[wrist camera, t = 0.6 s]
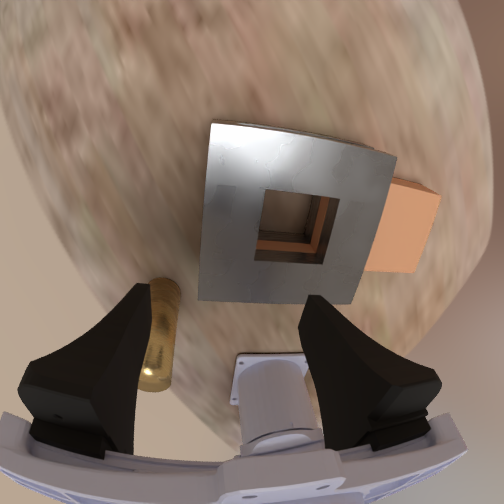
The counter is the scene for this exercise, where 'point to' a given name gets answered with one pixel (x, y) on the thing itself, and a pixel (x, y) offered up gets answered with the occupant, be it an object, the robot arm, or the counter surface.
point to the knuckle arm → (385, 229)
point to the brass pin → (161, 336)
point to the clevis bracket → (282, 262)
